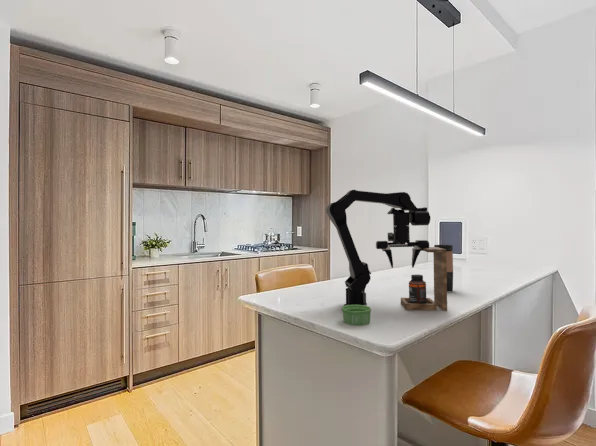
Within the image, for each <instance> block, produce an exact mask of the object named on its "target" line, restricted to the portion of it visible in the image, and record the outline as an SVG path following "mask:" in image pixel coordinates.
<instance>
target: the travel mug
mask: <svg viewBox="0 0 596 446" xmlns="http://www.w3.org/2000/svg"><path fill="white" fill-rule="evenodd" d="M433 247H439V248H443V249H446V262H447V293H451V292H454V291H453V288H454V287H453V286H454V253H453V252H454V251H453V245H452V244H434V246H433Z"/></svg>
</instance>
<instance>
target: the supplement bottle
mask: <svg viewBox="0 0 596 446" xmlns="http://www.w3.org/2000/svg"><path fill="white" fill-rule="evenodd" d="M410 277H411V280H409V281H408V298H409V303H415V304H427V303H426V298H427V282H426V281H425V280H424V276H423V274H411V275H410Z"/></svg>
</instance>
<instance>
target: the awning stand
mask: <svg viewBox="0 0 596 446" xmlns="http://www.w3.org/2000/svg"><path fill="white" fill-rule="evenodd" d="M422 249H423V252H427V253H433V300H432V299H431V298H430V297H426V303H427V304H415V303H409V297H400V304H401V305H402V307H403V309H404V310H406V311H408V310H409V311H438V308H439V309H440V310H441V311H443V312H444V311H445V312H446V311H448V292H447V262H446V249H443V248H439V247H434V246H429V248H422Z"/></svg>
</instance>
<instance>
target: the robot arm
mask: <svg viewBox="0 0 596 446" xmlns="http://www.w3.org/2000/svg"><path fill="white" fill-rule="evenodd" d="M354 202H364V203H374V204H383V205H385V206H388V207H391V208H390V210H389V211H388V212H387V213H386V214H387V215H392V221H393V222H392V225H393V226H392V227H393V228H392V229H393V232H387V240H376V241H375V249H377V250H381V251H382V252H385V254H386V256H387V258H388V262H389V264H390V267H391V268H392V269H393V268H394V262H393V261H394V259H393V254H392V249H391V248H411V250H412V256H411V268H412V269H413V268H415V264H416V261H417V260H418V256H419V255H420V253H421V252H422V251H423V249H422V248H429V247H430V242H429V240H425V239H420V240H419V239H417V240H415V241H411V239H410V237H411V236H410V225H411V226H415V227H416V226H429V224H430V222H431V214H430V212H429V211H428V207H425V206H424V207H417V206H416V204H415V203H414V202H413V201H412V197H411V195H410V194H409V193H408V192H405V191H400V192H399V191H398V192H389V193H385V192H376V191H375V192H373V191H365V190H356V189H351V190H348V191H347V192H346V193H345V194H344V195H343V196H342V197H341V198H339V199H337V200H336V201H334V202H331V203H329V204H328V205H327V206H326V209H325V211H326V212H325V213H326V214H327V217H328V218H329V220H330V221H331V223H332V224H333V226H334V227H335V229H336V232H337V234H338V237H339V239H340V242H341V246H342V248H343V250H344V253H345V256H346V259H347V261H348V271H349V275H350V276H349V277H348V278H347V279H345V281H344V284H345V287H346V288H345V303H344V304H343V306H346V305H365V306H368V304H367V293H366V291H365V290H366V287H367V285H368V284H369V283H370V281H371V275H372V272H371V271H370V269H369V264H368V263H367V262H364V261H362V260H361V258H360V256H359V254H358V251H357V248H356V245H355V242H354V240H353V238H352V235H351V232H350V229H349V226H348V221H347V219H348V218H347V212H346V210H347V209H348V208H349V207H351V205H352V204H354ZM407 211H408V212H407ZM423 252H424V251H423Z"/></svg>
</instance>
